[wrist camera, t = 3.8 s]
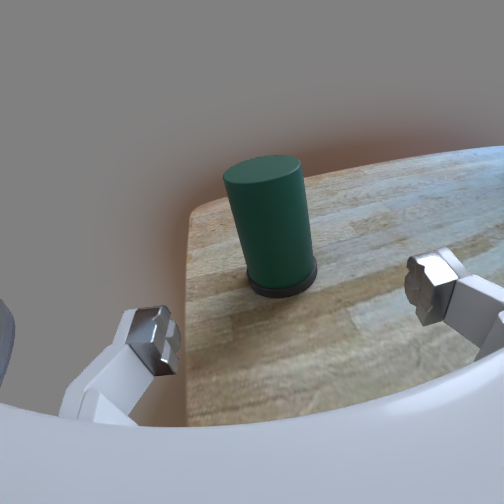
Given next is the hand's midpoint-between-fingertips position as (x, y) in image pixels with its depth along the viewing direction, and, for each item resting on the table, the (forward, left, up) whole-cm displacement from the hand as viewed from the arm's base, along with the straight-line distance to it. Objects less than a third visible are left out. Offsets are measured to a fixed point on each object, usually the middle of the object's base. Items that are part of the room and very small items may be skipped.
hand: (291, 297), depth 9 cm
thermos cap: (+7, +9, -8) cm, 14 cm away
